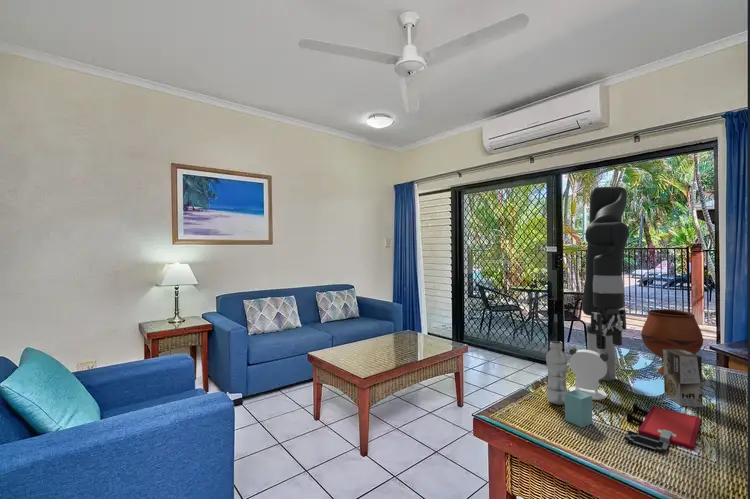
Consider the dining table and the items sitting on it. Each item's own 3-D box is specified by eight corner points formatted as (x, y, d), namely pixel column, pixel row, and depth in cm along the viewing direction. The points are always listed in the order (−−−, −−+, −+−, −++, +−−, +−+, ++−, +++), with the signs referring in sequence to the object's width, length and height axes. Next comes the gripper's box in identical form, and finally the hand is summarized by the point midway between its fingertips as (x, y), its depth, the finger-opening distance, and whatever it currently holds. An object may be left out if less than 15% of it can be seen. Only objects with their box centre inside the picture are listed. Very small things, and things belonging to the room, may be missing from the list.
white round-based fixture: (609, 391, 125) (609, 349, 125) (608, 402, 116) (607, 357, 116) (571, 384, 132) (570, 344, 132) (566, 394, 123) (566, 351, 123)
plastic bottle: (567, 400, 118) (566, 340, 118) (569, 409, 112) (568, 345, 112) (546, 397, 120) (545, 339, 121) (546, 405, 114) (545, 343, 115)
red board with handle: (615, 440, 94) (690, 465, 83) (615, 429, 94) (690, 452, 83) (637, 406, 114) (700, 422, 104) (638, 397, 114) (700, 413, 104)
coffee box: (704, 407, 111) (702, 356, 111) (680, 406, 113) (679, 355, 113) (684, 396, 120) (683, 348, 120) (663, 394, 121) (662, 348, 122)
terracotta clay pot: (650, 379, 136) (649, 314, 136) (636, 364, 154) (634, 307, 154) (714, 385, 129) (713, 317, 129) (691, 369, 146) (690, 309, 147)
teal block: (565, 420, 105) (564, 393, 105) (575, 416, 107) (575, 389, 107) (581, 427, 100) (581, 399, 100) (592, 423, 102) (591, 395, 103)
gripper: (607, 288, 110) (608, 341, 109) (580, 291, 103) (582, 347, 102) (635, 290, 103) (636, 346, 103) (608, 293, 96) (609, 353, 96)
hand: (609, 346), depth 102 cm, fingers open, 8 cm apart
